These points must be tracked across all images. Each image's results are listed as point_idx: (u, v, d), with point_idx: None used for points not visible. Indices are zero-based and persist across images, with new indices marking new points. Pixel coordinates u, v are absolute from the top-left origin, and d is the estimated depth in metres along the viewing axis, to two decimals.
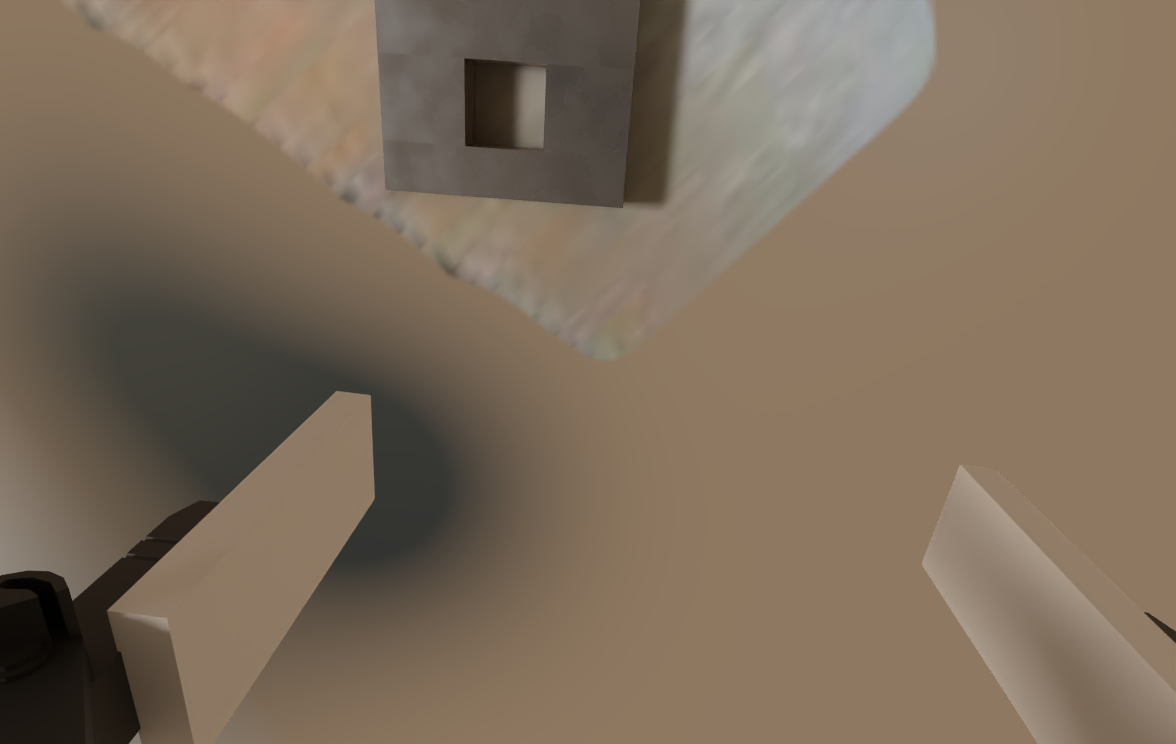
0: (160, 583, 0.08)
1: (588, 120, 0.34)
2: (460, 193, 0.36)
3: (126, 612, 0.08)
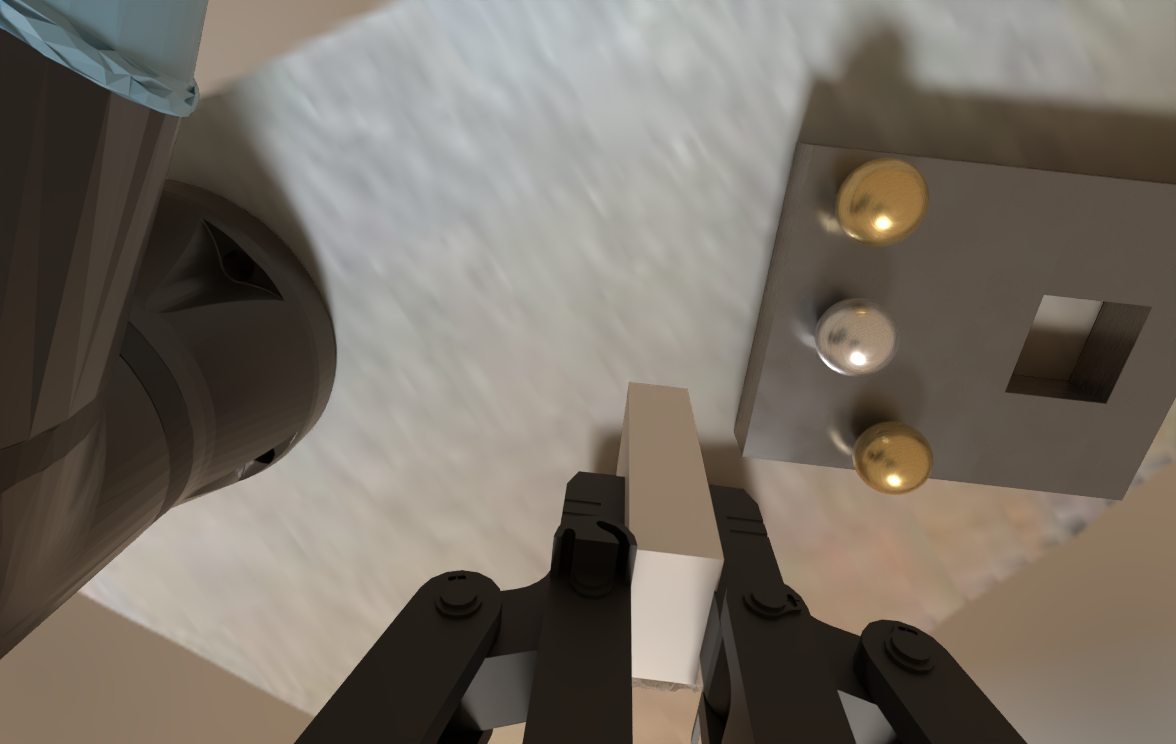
0: (647, 530, 0.10)
1: (1134, 243, 0.25)
2: (1163, 416, 0.28)
3: (642, 550, 0.10)
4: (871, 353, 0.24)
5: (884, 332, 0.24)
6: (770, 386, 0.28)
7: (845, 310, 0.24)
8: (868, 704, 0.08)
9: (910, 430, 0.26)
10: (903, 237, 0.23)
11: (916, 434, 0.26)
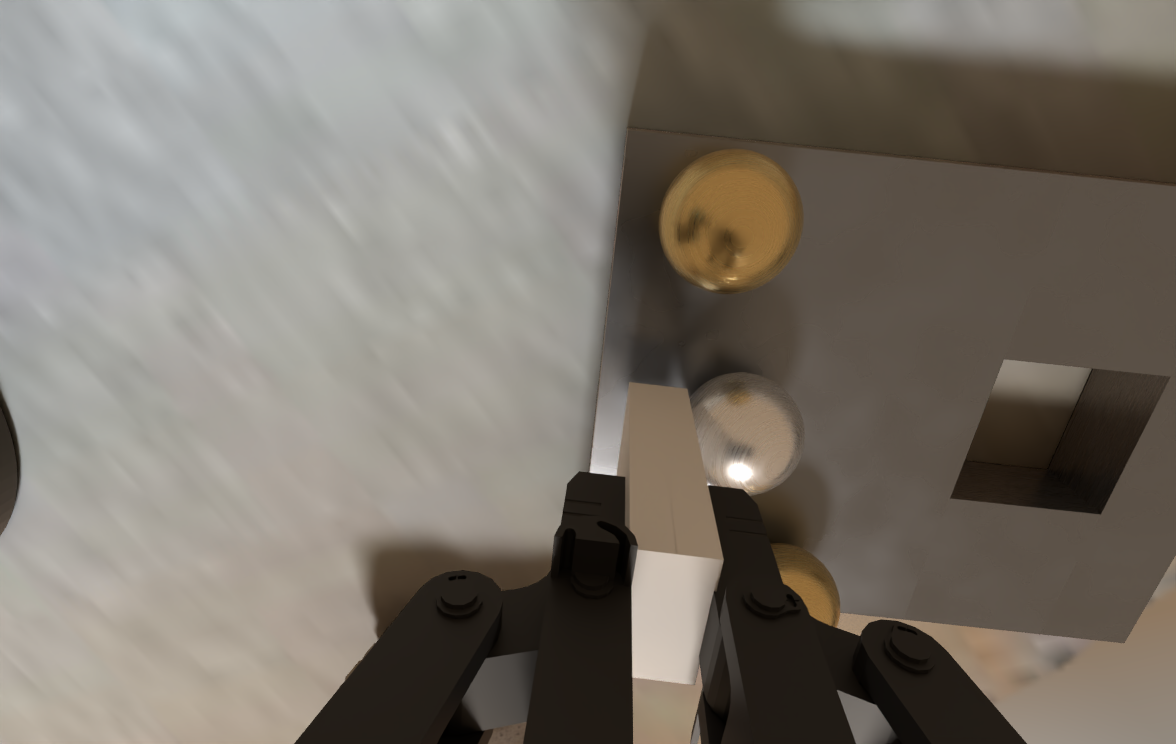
0: (647, 529, 0.10)
1: (1142, 281, 0.16)
2: None
3: (643, 550, 0.10)
4: (780, 468, 0.15)
5: (793, 432, 0.15)
6: None
7: (730, 404, 0.15)
8: (868, 703, 0.08)
9: (803, 564, 0.17)
10: (761, 281, 0.14)
11: (812, 571, 0.17)
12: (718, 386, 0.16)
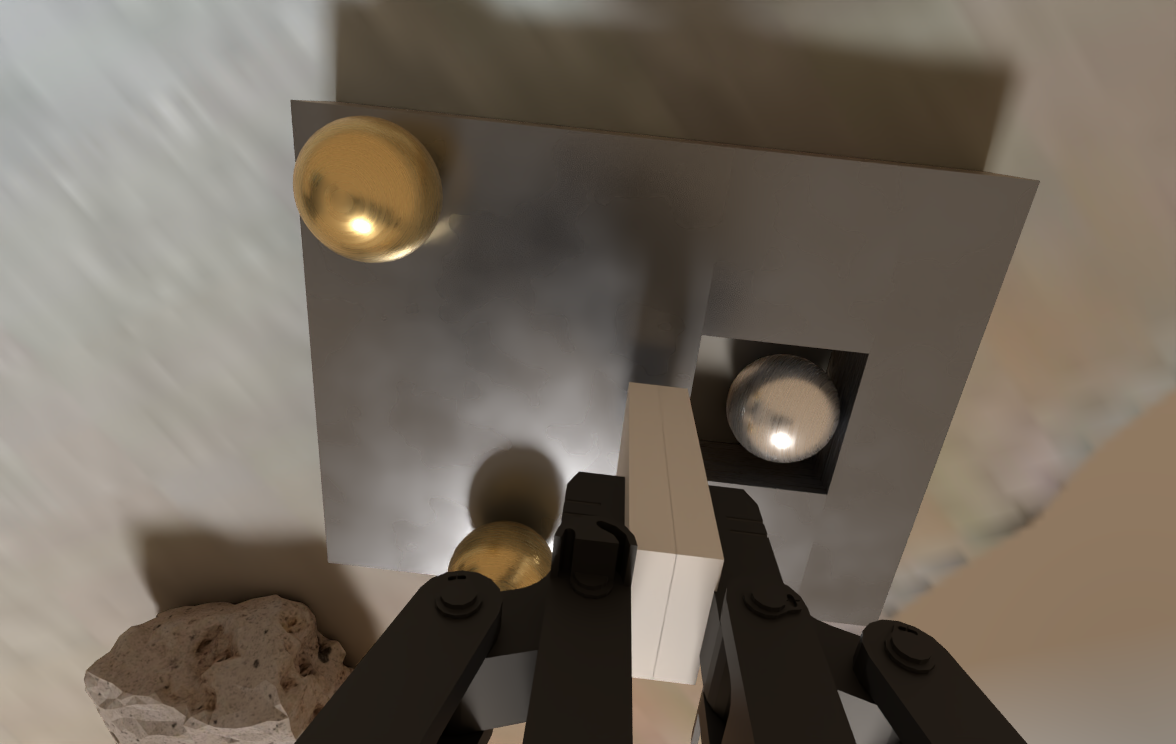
0: (647, 529, 0.10)
1: (822, 256, 0.16)
2: (913, 513, 0.18)
3: (642, 550, 0.10)
4: (834, 430, 0.18)
5: (838, 397, 0.18)
6: (337, 466, 0.19)
7: (794, 385, 0.17)
8: (868, 704, 0.08)
9: (510, 540, 0.17)
10: (389, 248, 0.14)
11: (517, 547, 0.17)
12: (773, 371, 0.17)
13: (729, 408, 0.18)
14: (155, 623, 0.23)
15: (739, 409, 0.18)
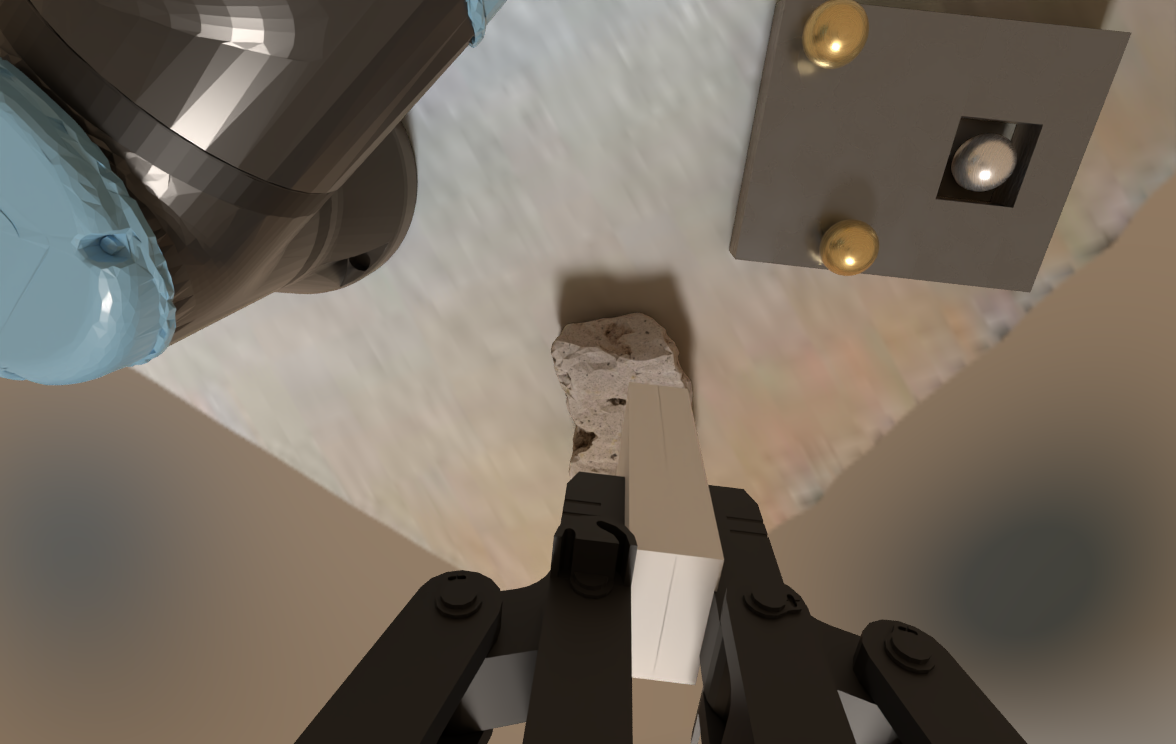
0: (647, 529, 0.10)
1: (1026, 72, 0.33)
2: (1057, 217, 0.36)
3: (642, 550, 0.10)
4: (1012, 168, 0.35)
5: None
6: (756, 197, 0.37)
7: (992, 141, 0.35)
8: (869, 704, 0.08)
9: (861, 221, 0.35)
10: (850, 56, 0.31)
11: (865, 223, 0.35)
12: (981, 136, 0.35)
13: (954, 161, 0.36)
14: (578, 323, 0.41)
15: (960, 157, 0.36)
